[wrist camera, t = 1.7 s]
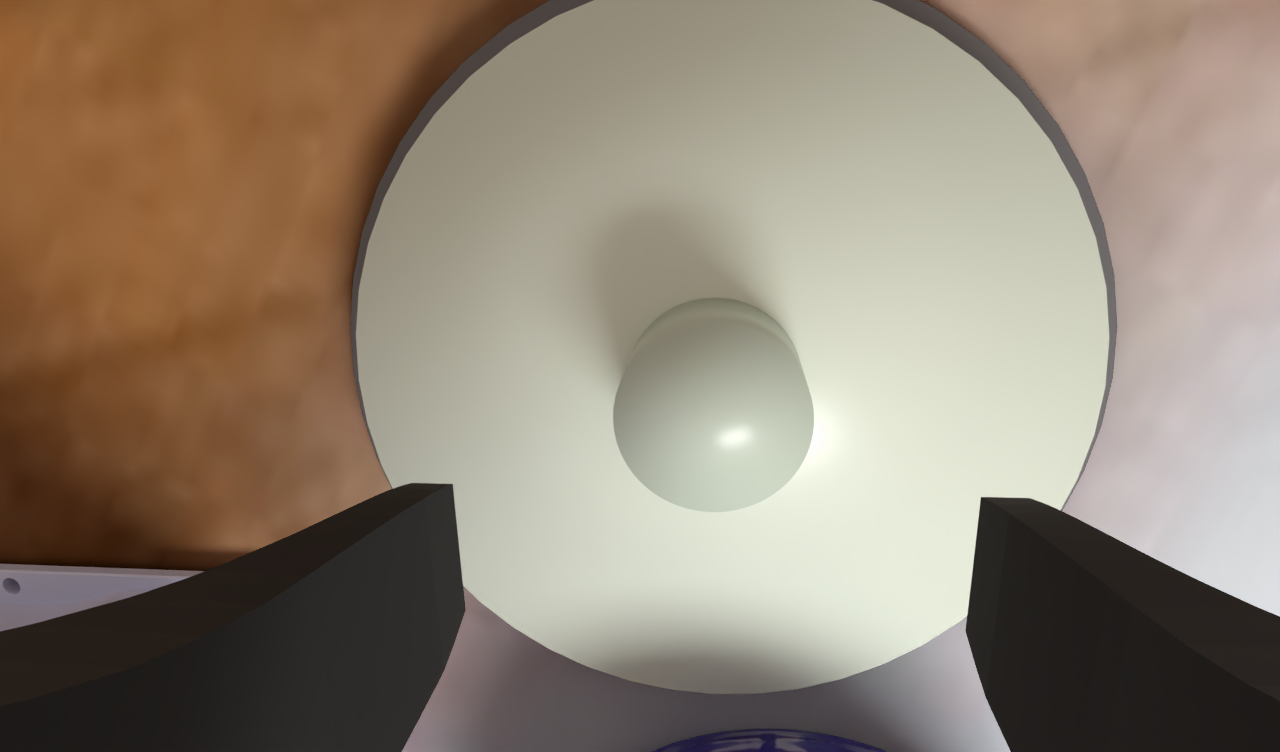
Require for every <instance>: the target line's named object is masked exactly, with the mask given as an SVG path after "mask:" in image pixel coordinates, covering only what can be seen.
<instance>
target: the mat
mask: <svg viewBox="0 0 1280 752" xmlns="http://www.w3.org/2000/svg"><path fill="white" fill-rule="evenodd" d="M591 1H593V0H549V1H547V2H546V3H544V4H542V5H541V6H539V7H538V8H536V9H534V10H533V11H531V12H529V13H528V14H526V15H524V16H523V17H521V18H519V19H518V20H516V21H514V22H513V23H511V24H509V25H508V26H506V27H505V28H504V29H503V30H501V31H500V32H499V33H498V34H497V35H495V36H494V37H493V38H492V39H490V40H489V41H488V42H487V43H486V44H484V45H483V46H482V47H481V48H479V49H478V50H477V51H476V52H475V53H473V54H472V55H471V56H470V57H468V58H467V59H466V60H465V61H464V62H463V63H462V64H461V65H460V66H459V68H458V69H457V70H456V71H455V72H454V73H453V74H452V75H451V76H450V77H449V78H448V79H447V81H446V82H445V83H444V84H443V85H442V86H441V87H440V88H439V89H438V90H437V91H436V92H435V94H434V95H433V96H432V97H431V98H430V99H429V101H428V102H427V104H426V105H425V106H424V108H423V109H422V111H421V112H420V114H419V115H418V117H417V118H416V119H415V121H414V122H413V124H412V125H411V127H410V128H409V130H408V131H407V132H406V134H405V135H404V137H403V138H402V140H401V141H400V143H399V145H398V147H397V149H396V151H395V153H394V155H393V157H392V159H391V161H390V163H389V165H388V167H387V169H386V171H385V173H384V175H383V177H382V179H381V181H380V183H379V185H378V188H377V191H376V194H375V196H374V199H373V202H372V205H371V208H370V211H369V214H368V217H367V220H366V223H365V226H364V228H363V232H362V237H361V242H360V247H359V252H358V257H357V262H356V267H355V272H354V277H353V291H352V307H351V323H350V325H351V340H352V355H353V370H354V375H355V380H356V385H357V390H358V395H359V400H360V405H361V410H362V415H363V418H364V421H365V424H366V427H367V430H368V433H369V436H370V439H371V442H372V445H373V448H374V451H375V454H376V457H377V459H378V461H379V463H380V460H379V457H378V454H377V451H376V448H375V445H374V442H373V439H372V436H371V433H370V430H369V427H368V424H367V419H366V414H365V409H364V404H363V399H362V393H361V388H360V383H359V375H358V360H357V345H356V325H357V310H358V294H359V286H360V281H361V276H362V271H363V266H364V261H365V256H366V251H367V246H368V242H369V240H370V237H371V234H372V231H373V228H374V225H375V222H376V219H377V217H378V214H379V211H380V208H381V205H382V202H383V199H384V197H385V195H386V193H387V191H388V189H389V187H390V185H391V183H392V181H393V179H394V178H395V176H396V174H397V172H398V170H399V168H400V166H401V164H402V162H403V160H404V158H405V156H406V154H407V153H408V151H409V150H410V149H411V147H412V146H413V144H414V143H415V141H416V140H417V139H418V137H419V136H420V134H421V133H422V131H423V130H424V129H425V127H426V126H427V124H428V123H429V121H430V120H431V119H432V117H433V116H434V114H435V113H436V112H437V111H438V110H439V109H440V108H441V107H442V106H443V105H444V104H445V102H446V101H447V100H448V99H449V98H450V97H451V96H452V95H453V94H454V93H455V92H456V91H457V90H458V89H459V87H460V86H461V85H462V84H463V83H464V82H465V81H466V80H467V79H468V78H469V77H470V76H471V75H472V74H473V73H475V72H476V71H477V70H478V69H480V68H481V67H482V66H483V65H485V64H486V63H487V62H488V61H490V60H491V59H492V58H493V57H494V56H496V55H497V54H498V53H499V52H501V51H502V50H503V49H504V48H506V47H507V46H508V45H509V44H511V43H512V42H514V41H516V40H517V39H519V38H521V37H522V36H524V35H526V34H527V33H529V32H531V31H532V30H534V29H536V28H537V27H539V26H541V25H542V24H544V23H546V22H547V21H549V20H551V19H552V18H554V17H556V16H558V15H560V14H562V13H565V12H567V11H570V10H572V9H574V8H577V7H579V6H581V5H584V4H586V3H589V2H591ZM873 1H876V2H879V3H882V4H884V5H886V6H888V7H890V8H892V9H894V10H896V11H898V12H900V13H902V14H904V15H906V16H908V17H910V18H912V19H914V20H916V21H918V22H920V23H922V24H924V25H926V26H928V27H930V28H932V29H934V30H935V31H937V32H938V33H940V34H941V35H942V36H944V37H945V38H947V39H948V40H949V41H951V42H952V43H954V44H955V45H957V46H958V47H959V48H961V49H962V50H964V51H965V52H966V53H968V54H969V55H971V56H972V57H974V58H975V59H976V60H978V61H979V62H980V63H981V64H982V65H983V66H984V67H985V68H986V69H987V70H989V71H990V72H991V73H992V74H993V75H994V76H995V77H996V78H997V79H998V80H999V81H1000V82H1001V83H1002V84H1003V85H1004V86H1005V87H1006V88H1007V89H1008V90H1009V91H1010V92H1012V93H1013V94H1014V95H1015V96H1016V97H1017V98H1018V99H1019V100H1020V102H1021V103H1022V104H1023V106H1024V107H1025V108H1026V110H1027V111H1028V112H1029V113H1030V115H1031V116H1032V117H1033V119H1034V120H1035V121H1036V122H1037V124H1038V125H1039V126H1040V128H1041V129H1042V130H1043V132H1044V133H1045V134H1046V135H1047V137H1048V138H1049V139H1050V141H1051V142H1052V144H1053V145H1054V147H1055V149H1056V151H1057V153H1058V154H1059V156H1060V158H1061V160H1062V162H1063V163H1064V165H1065V167H1066V169H1067V171H1068V172H1069V174H1070V176H1071V178H1072V180H1073V181H1074V183H1075V185H1076V187H1077V189H1078V191H1079V194H1080V197H1081V199H1082V202H1083V205H1084V207H1085V210H1086V213H1087V215H1088V218H1089V221H1090V223H1091V226H1092V229H1093V231H1094V234H1095V237H1096V241H1097V246H1098V250H1099V255H1100V260H1101V265H1102V269H1103V274H1104V279H1105V283H1106V289H1107V306H1108V322H1109V350H1108V361H1107V373H1106V385H1105V391H1104V395H1103V400H1102V404H1101V408H1100V413H1099V417H1098V421H1097V426H1096V430H1095V434H1094V437H1093V440H1092V442H1091V445H1090V448H1089V450H1088V453H1087V456H1086V458H1085V461H1084V463H1083V466H1082V469H1081V471H1080V474H1079V476H1078V479H1077V481H1076V483H1075V485H1074V487H1073V488H1072V490H1071V492H1070V494H1069V496H1068V498H1067V499H1066V501H1065V503H1064V505H1063V507H1062V509H1061V510H1060V511H1062V510H1063V508H1064V507H1065V505H1066V503H1067V501H1068V499H1069V497H1070V496H1071V494H1072V492H1073V490H1074V488H1075V486H1076V485H1077V483H1078V481H1079V479H1080V477H1081V475H1082V474H1083V472H1084V470H1085V467H1086V464H1087V462H1088V459H1089V457H1090V454H1091V451H1092V449H1093V446H1094V444H1095V441H1096V438H1097V436H1098V433H1099V430H1100V428H1101V425H1102V421H1103V417H1104V412H1105V408H1106V404H1107V399H1108V395H1109V391H1110V387H1111V382H1112V378H1113V369H1114V357H1115V346H1116V334H1117V315H1116V297H1115V280H1114V272H1113V267H1112V262H1111V257H1110V252H1109V247H1108V243H1107V238H1106V233H1105V228H1104V223H1103V221H1102V218H1101V215H1100V213H1099V210H1098V207H1097V205H1096V202H1095V199H1094V196H1093V194H1092V191H1091V188H1090V186H1089V183H1088V180H1087V177H1086V175H1085V172H1084V171H1083V169H1082V167H1081V165H1080V163H1079V162H1078V160H1077V158H1076V156H1075V154H1074V153H1073V151H1072V149H1071V147H1070V145H1069V143H1068V142H1067V140H1066V138H1065V136H1064V134H1063V133H1062V131H1061V129H1060V127H1059V125H1058V124H1057V123H1056V122H1055V120H1054V119H1053V118H1052V116H1051V115H1050V114H1049V112H1048V111H1047V110H1046V109H1045V107H1044V106H1043V105H1042V103H1041V102H1040V101H1039V99H1038V98H1037V97H1036V95H1035V94H1034V93H1033V92H1032V90H1031V89H1030V88H1029V86H1028V85H1027V84H1026V82H1025V81H1024V80H1023V79H1022V78H1021V77H1019V76H1018V75H1017V74H1016V73H1015V72H1014V71H1013V70H1012V69H1011V68H1010V67H1009V66H1008V65H1007V64H1006V63H1005V62H1004V61H1003V60H1002V59H1001V58H1000V57H999V56H998V55H997V54H996V53H995V52H993V51H992V50H991V49H990V48H989V47H988V46H987V45H986V44H985V43H984V42H983V41H981V40H980V39H978V38H977V37H975V36H974V35H973V34H971V33H970V32H968V31H967V30H966V29H964V28H963V27H961V26H960V25H959V24H957V23H956V22H954V21H953V20H951V19H950V18H949V17H947V16H946V15H944V14H943V13H942V12H940V11H939V10H937V9H935V8H933V7H931V6H929V5H927V4H925V3H923V2H921V1H919V0H873ZM380 465H381V463H380ZM381 467H382V465H381ZM382 469H383V467H382ZM383 471H384V469H383ZM384 473H385V472H384ZM385 475H386V474H385ZM386 477H387V476H386ZM387 480H388V478H387ZM388 482H389V480H388ZM389 484H390V482H389ZM390 486H391V484H390ZM391 488H392V486H391ZM392 489H393V488H392Z"/></svg>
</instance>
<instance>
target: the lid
mask: <svg viewBox="0 0 1280 752" xmlns="http://www.w3.org/2000/svg"><path fill="white" fill-rule="evenodd" d="M356 345H357V360H358V375H359V383H360V388H361V393H362V399H363V404H364V409H365V414H366V419H367V424H368V427H369V430H370V433H371V436H372V439H373V442H374V445H375V448H376V451H377V454H378V457H379V460H380V463H381V465H382V467H383V469H384V472H385V474H386V476H387V478H388V480H389V482H390V484H391V486H392V488H393V489H394V488H396V487H399V486H402V485H406V484H410V483H435V484H453V491H454V501H455V511H456V521H457V531H458V541H459V551H460V561H461V571H462V581H463V586H464V587H465V588H466V589H467V590H468V591H469V592H470V593H471V594H472V595H473V596H474V597H476V598H477V599H478V600H479V601H480V602H481V603H482V604H483V605H485V606H486V607H487V608H489V609H490V610H491V611H493V612H494V613H495V614H496V615H498V616H499V617H500V618H502V619H503V620H504V621H506V622H507V623H508V624H509V625H511V626H512V627H513V628H515V629H517V630H518V631H520V632H522V633H523V634H525V635H527V636H528V637H530V638H532V639H533V640H535V641H537V642H538V643H540V644H542V645H543V646H545V647H547V648H548V649H550V650H552V651H554V652H556V653H559V654H561V655H563V656H565V657H567V658H569V659H572V660H574V661H576V662H578V663H580V664H582V665H585V666H587V667H589V668H592V669H595V670H598V671H601V672H604V673H607V674H610V675H613V676H616V677H619V678H622V679H625V680H628V681H633V682H637V683H642V684H646V685H651V686H656V687H660V688H665V689H670V690H679V691H688V692H698V693H707V694H758V693H767V692H776V691H785V690H793V689H800V688H805V687H809V686H813V685H818V684H822V683H827V682H831V681H835V680H840V679H843V678H846V677H849V676H852V675H854V674H857V673H860V672H863V671H866V670H869V669H872V668H874V667H877V666H880V665H883V664H885V663H887V662H889V661H891V660H893V659H895V658H897V657H899V656H901V655H903V654H906V653H908V652H910V651H912V650H914V649H916V648H918V647H920V646H922V645H924V644H925V643H927V642H928V641H930V640H932V639H933V638H935V637H936V636H938V635H939V634H941V633H942V632H944V631H946V630H947V629H949V628H950V627H952V626H953V625H955V624H957V623H958V622H960V621H961V620H962V619H964V618H965V617H966V616H967V615H968V606H969V597H970V588H971V580H972V571H973V562H974V553H975V545H976V536H977V527H978V518H979V509H980V501H981V497H1004V498H1031V499H1034V500H1036V501H1039V502H1042V503H1044V504H1047V505H1049V506H1051V507H1054V508H1056V509H1058V510H1061V509H1062V507H1063V505H1064V503H1065V501H1066V499H1067V498H1068V496H1069V494H1070V492H1071V490H1072V488H1073V487H1074V485H1075V483H1076V481H1077V479H1078V476H1079V474H1080V471H1081V469H1082V466H1083V463H1084V461H1085V458H1086V456H1087V453H1088V450H1089V448H1090V445H1091V442H1092V440H1093V437H1094V434H1095V430H1096V426H1097V421H1098V417H1099V413H1100V408H1101V404H1102V400H1103V395H1104V391H1105V385H1106V373H1107V361H1108V350H1109V322H1108V306H1107V289H1106V283H1105V279H1104V274H1103V269H1102V265H1101V260H1100V255H1099V250H1098V246H1097V241H1096V237H1095V234H1094V231H1093V229H1092V226H1091V223H1090V221H1089V218H1088V215H1087V213H1086V210H1085V207H1084V205H1083V202H1082V199H1081V197H1080V194H1079V191H1078V189H1077V187H1076V185H1075V183H1074V181H1073V180H1072V178H1071V176H1070V174H1069V172H1068V171H1067V169H1066V167H1065V165H1064V163H1063V162H1062V160H1061V158H1060V156H1059V154H1058V153H1057V151H1056V149H1055V147H1054V145H1053V144H1052V142H1051V141H1050V139H1049V138H1048V137H1047V135H1046V134H1045V133H1044V132H1043V130H1042V129H1041V128H1040V126H1039V125H1038V124H1037V122H1036V121H1035V120H1034V119H1033V117H1032V116H1031V115H1030V113H1029V112H1028V111H1027V110H1026V108H1025V107H1024V106H1023V104H1022V103H1021V102H1020V100H1019V99H1018V98H1017V97H1016V96H1015V95H1014V94H1013V93H1012V92H1010V91H1009V90H1008V89H1007V88H1006V87H1005V86H1004V85H1003V84H1002V83H1001V82H1000V81H999V80H998V79H997V78H996V77H995V76H994V75H993V74H992V73H991V72H990V71H989V70H987V69H986V68H985V67H984V66H983V65H982V64H981V63H980V62H979V61H978V60H976V59H975V58H974V57H972V56H971V55H969V54H968V53H966V52H965V51H964V50H962V49H961V48H959V47H958V46H957V45H955V44H954V43H952V42H951V41H949V40H948V39H947V38H945V37H944V36H942V35H941V34H940V33H938V32H937V31H935V30H934V29H932V28H930V27H928V26H926V25H924V24H922V23H920V22H918V21H916V20H914V19H912V18H910V17H908V16H906V15H904V14H902V13H900V12H898V11H896V10H894V9H892V8H890V7H888V6H886V5H884V4H882V3H879V2H876V1H873V0H593V1H591V2H589V3H586V4H584V5H581V6H579V7H577V8H574V9H572V10H570V11H567V12H565V13H562V14H560V15H558V16H556V17H554V18H552V19H551V20H549V21H547V22H546V23H544V24H542V25H541V26H539V27H537V28H536V29H534V30H532V31H531V32H529V33H527V34H526V35H524V36H522V37H521V38H519V39H517V40H516V41H514V42H512V43H511V44H509V45H508V46H507V47H506V48H504V49H503V50H502V51H501V52H499V53H498V54H497V55H496V56H494V57H493V58H492V59H491V60H490V61H488V62H487V63H486V64H485V65H483V66H482V67H481V68H480V69H478V70H477V71H476V72H475V73H473V74H472V75H471V76H470V77H469V78H468V79H467V80H466V81H465V82H464V83H463V84H462V85H461V86H460V87H459V89H458V90H457V91H456V92H455V93H454V94H453V95H452V96H451V97H450V98H449V99H448V100H447V101H446V102H445V104H444V105H443V106H442V107H441V108H440V109H439V110H438V111H437V112H436V113H435V114H434V116H433V117H432V119H431V120H430V121H429V123H428V124H427V126H426V127H425V129H424V130H423V131H422V133H421V134H420V136H419V137H418V139H417V140H416V141H415V143H414V144H413V146H412V147H411V149H410V150H409V151H408V153H407V154H406V156H405V158H404V160H403V162H402V164H401V166H400V168H399V170H398V172H397V174H396V176H395V178H394V179H393V181H392V183H391V185H390V187H389V189H388V191H387V193H386V195H385V197H384V199H383V202H382V205H381V208H380V211H379V214H378V217H377V219H376V222H375V225H374V228H373V231H372V234H371V237H370V240H369V242H368V246H367V251H366V256H365V261H364V266H363V271H362V276H361V281H360V286H359V294H358V310H357V325H356Z"/></svg>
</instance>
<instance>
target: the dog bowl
mask: <svg viewBox="0 0 1280 752" xmlns="http://www.w3.org/2000/svg"><path fill="white" fill-rule="evenodd" d="M652 752H886V751H883V750H880V749H878V748H875V747H872V746H869V745H866V744H863V743H859V742H856V741H852V740H849V739H845V738H841V737H836V736H831V735H826V734H820V733H813V732H806V731H797V730H786V729H747V730H735V731H725V732H720V733H714V734H709V735H703V736H698V737H694V738H690V739H687V740H683V741H680V742H676V743H673V744H670V745H667V746H665V747H662V748H659V749H657V750H654V751H652Z"/></svg>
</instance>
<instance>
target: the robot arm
mask: <svg viewBox="0 0 1280 752" xmlns="http://www.w3.org/2000/svg"><path fill="white" fill-rule="evenodd" d="M16 581H17V582H18V583H17V582H16ZM464 613H465V601H464V591H463V581H462V571H461V561H460V551H459V541H458V531H457V521H456V511H455V501H454V491H453V484H435V483H410V484H406V485H402V486H399V487H396V488H394V489H391V490H389V491H386V492H384V493H381V494H379V495H377V496H374V497H372V498H370V499H368V500H366V501H363V502H361V503H359V504H357V505H355V506H353V507H351V508H348V509H346V510H344V511H342V512H340V513H338V514H336V515H333V516H331V517H329V518H327V519H325V520H323V521H321V522H319V523H316V524H314V525H312V526H310V527H308V528H306V529H304V530H302V531H299V532H297V533H295V534H293V535H290V536H288V537H286V538H283V539H281V540H279V541H277V542H274V543H272V544H270V545H267V546H265V547H263V548H260V549H258V550H256V551H253V552H251V553H249V554H246V555H244V556H242V557H239V558H237V559H235V560H232V561H230V562H228V563H225V564H223V565H220V566H218V567H215V568H213V569H210V570H207V571H185V570H157V569H130V568H103V567H76V566H49V565H21V564H0V752H402V750H403V748H404V746H405V744H406V742H407V740H408V738H409V737H410V735H411V733H412V731H413V729H414V727H415V725H416V724H417V722H418V720H419V718H420V716H421V714H422V712H423V710H424V708H425V706H426V704H427V703H428V701H429V699H430V697H431V695H432V693H433V691H434V689H435V687H436V685H437V683H438V681H439V679H440V677H441V675H442V673H443V671H444V669H445V666H446V664H447V661H448V658H449V656H450V653H451V650H452V648H453V645H454V642H455V639H456V636H457V633H458V630H459V627H460V624H461V621H462V619H463V616H464ZM966 634H967V637H968V641H969V644H970V647H971V651H972V654H973V658H974V661H975V665H976V668H977V671H978V674H979V677H980V680H981V683H982V687H983V690H984V693H985V696H986V699H987V701H988V703H989V705H990V707H991V710H992V712H993V714H994V716H995V718H996V721H997V723H998V725H999V727H1000V729H1001V731H1002V733H1003V736H1004V738H1005V740H1006V742H1007V744H1008V746H1009V749H1010V751H1011V752H1280V617H1279V616H1277V615H1274V614H1272V613H1269V612H1267V611H1265V610H1262V609H1260V608H1258V607H1255V606H1253V605H1251V604H1249V603H1246V602H1244V601H1242V600H1240V599H1238V598H1236V597H1233V596H1231V595H1229V594H1227V593H1225V592H1222V591H1220V590H1218V589H1216V588H1214V587H1212V586H1209V585H1207V584H1205V583H1203V582H1201V581H1198V580H1196V579H1194V578H1192V577H1190V576H1188V575H1186V574H1184V573H1182V572H1180V571H1178V570H1176V569H1174V568H1172V567H1170V566H1168V565H1166V564H1164V563H1162V562H1160V561H1158V560H1156V559H1154V558H1152V557H1150V556H1148V555H1146V554H1144V553H1142V552H1140V551H1138V550H1136V549H1134V548H1132V547H1130V546H1129V545H1127V544H1125V543H1123V542H1121V541H1119V540H1117V539H1115V538H1113V537H1111V536H1109V535H1107V534H1105V533H1103V532H1102V531H1100V530H1098V529H1096V528H1094V527H1092V526H1090V525H1088V524H1086V523H1084V522H1082V521H1080V520H1078V519H1076V518H1074V517H1072V516H1070V515H1068V514H1066V513H1064V512H1062V511H1060V510H1058V509H1056V508H1054V507H1051V506H1049V505H1047V504H1044V503H1042V502H1039V501H1036V500H1034V499H1031V498H1004V497H981V501H980V509H979V518H978V527H977V536H976V545H975V553H974V562H973V571H972V580H971V588H970V597H969V606H968V615H967V623H966Z"/></svg>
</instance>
